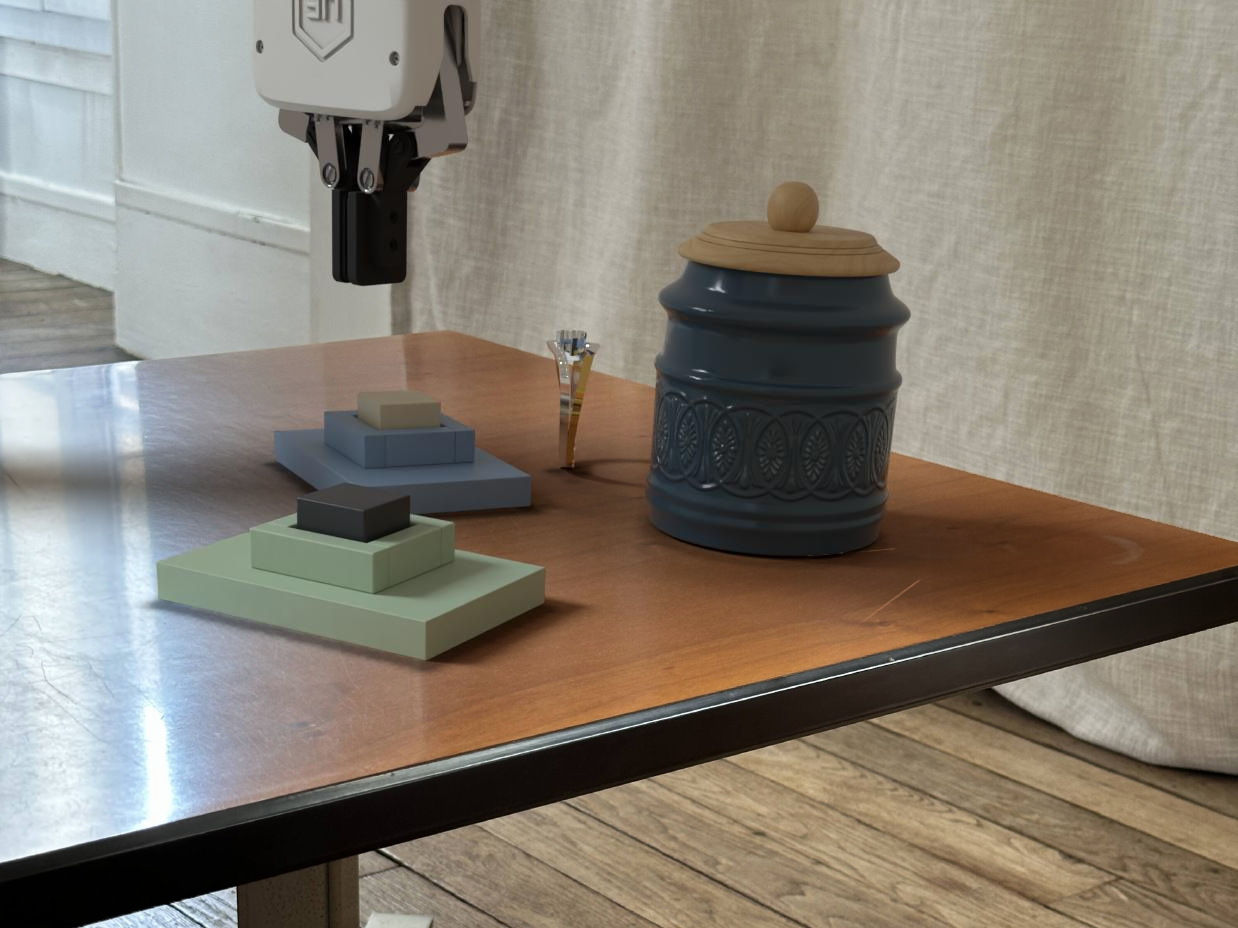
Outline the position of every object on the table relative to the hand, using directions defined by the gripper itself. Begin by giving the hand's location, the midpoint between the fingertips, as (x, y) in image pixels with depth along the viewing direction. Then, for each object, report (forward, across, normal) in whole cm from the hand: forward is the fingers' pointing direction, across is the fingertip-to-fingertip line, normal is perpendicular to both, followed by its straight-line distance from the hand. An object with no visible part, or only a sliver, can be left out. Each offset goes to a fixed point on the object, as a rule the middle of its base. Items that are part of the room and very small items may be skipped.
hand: (369, 280), depth 81 cm
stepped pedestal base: (+13, +5, -6) cm, 15 cm away
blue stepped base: (+13, -9, +12) cm, 20 cm away
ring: (+13, -6, +22) cm, 26 cm away
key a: (+10, +5, -6) cm, 13 cm away
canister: (+13, +10, +20) cm, 26 cm away
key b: (+10, -9, +11) cm, 18 cm away
